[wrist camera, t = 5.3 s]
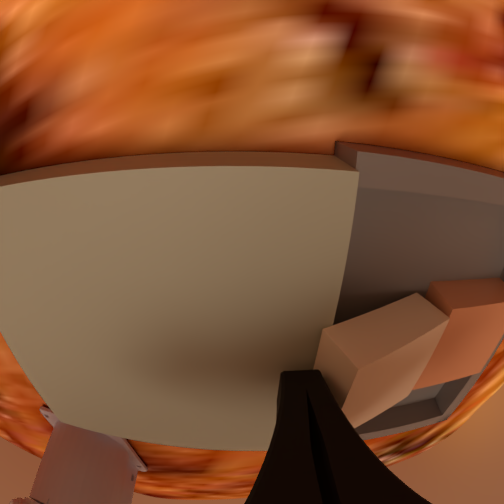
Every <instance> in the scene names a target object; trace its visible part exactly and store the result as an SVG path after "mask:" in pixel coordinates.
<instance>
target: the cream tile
mask: <svg viewBox="0 0 504 504" xmlns="http://www.w3.org/2000/svg"><path fill="white" fill-rule="evenodd" d="M449 320H450V318H449V317H448V316H447V315H445V314H444V313H443V312H442V311H440V310H439V309H438V308H437V307H435V306H434V305H433V304H431V303H430V302H429V301H427V300H426V299H425V298H424V297H422V296H421V295H420V294H418V293H414V294H412V295H410V296H407V297H405V298H403V299H400V300H398V301H396V302H393V303H391V304H388V305H386V306H383V307H381V308H378V309H376V310H373V311H371V312H368V313H365V314H363V315H360V316H357V317H355V318H352V319H349V320H347V321H344V322H341V323H338V324H336V325H333V326H330V327H327V328H324V329H323V330H322V334H321V339H320V343H319V347H318V352H317V356H316V360H315V364H314V368H313V370H315V369H318V370H319V371H320V372H321V374H322V376H323V378H324V380H325V382H326V384H327V386H328V387H329V389H330V391H331V393H332V395H333V396H334V398H335V400H336V402H337V403H338V405H339V406H340V408H341V410H342V411H343V413H344V414H345V416H346V417H347V419H348V420H349V422H350V423H351V425H352V426H353V428H356V427H358V426H360V425H361V424H363V423H365V422H367V421H368V420H370V419H372V418H374V417H375V416H377V415H379V414H380V413H382V412H384V411H385V410H387V409H389V408H390V407H392V406H393V405H395V404H396V403H398V402H400V401H401V400H403V399H404V398H406V397H407V396H408V395H409V394H410V392H411V390H412V389H413V387H414V386H415V384H416V382H417V381H418V379H419V377H420V376H421V374H422V372H423V370H424V369H425V367H426V365H427V363H428V361H429V360H430V358H431V356H432V354H433V352H434V350H435V348H436V346H437V344H438V342H439V340H440V338H441V336H442V334H443V332H444V330H445V328H446V326H447V324H448V322H449Z"/></svg>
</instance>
